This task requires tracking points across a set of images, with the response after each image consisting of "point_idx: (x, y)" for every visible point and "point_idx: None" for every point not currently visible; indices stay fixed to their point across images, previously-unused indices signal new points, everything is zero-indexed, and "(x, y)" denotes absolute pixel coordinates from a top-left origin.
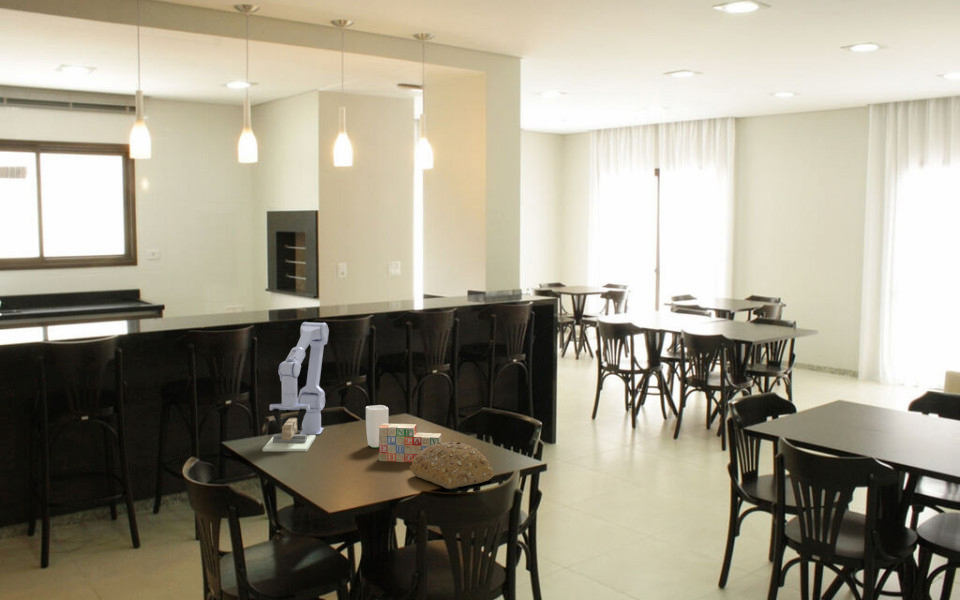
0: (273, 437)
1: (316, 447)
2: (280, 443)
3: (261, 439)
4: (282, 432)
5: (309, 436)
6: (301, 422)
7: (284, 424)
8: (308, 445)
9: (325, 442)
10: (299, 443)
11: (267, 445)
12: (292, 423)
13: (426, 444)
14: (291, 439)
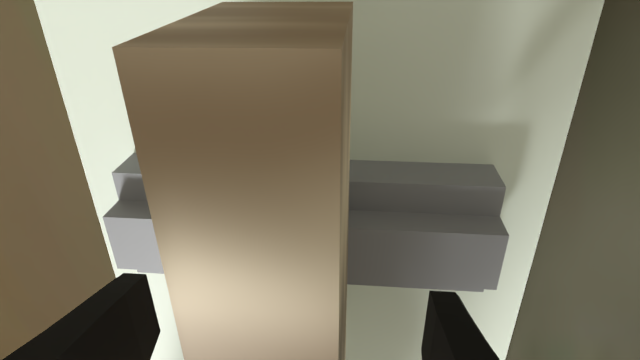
0: (500, 221)
1: (3, 70)
2: (399, 138)
3: (601, 350)
4: (338, 19)
5: (179, 349)
6: (23, 346)
7: (321, 252)
8: (49, 43)
9: (14, 237)
10: None
11: (559, 48)
12: (177, 316)
13: None
14: None
